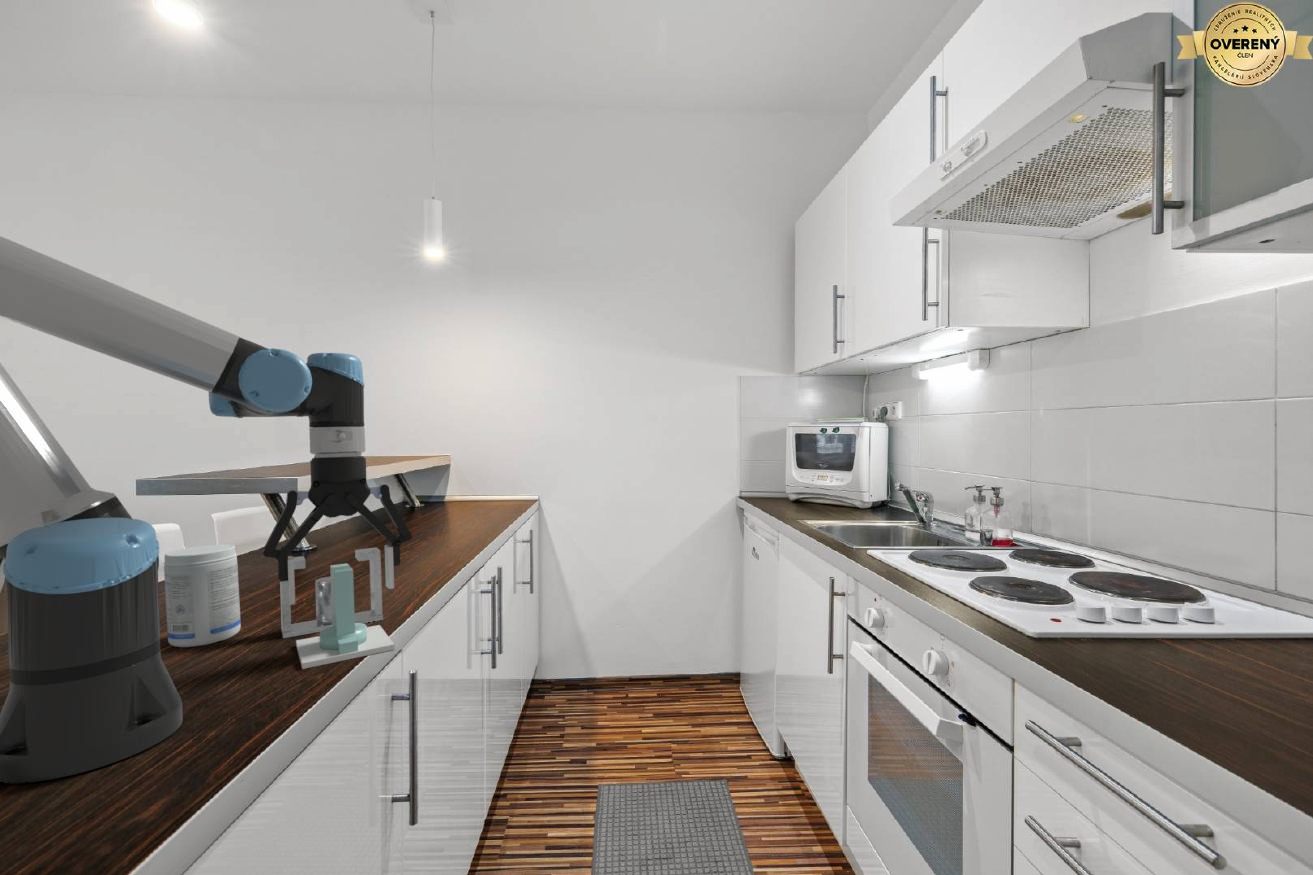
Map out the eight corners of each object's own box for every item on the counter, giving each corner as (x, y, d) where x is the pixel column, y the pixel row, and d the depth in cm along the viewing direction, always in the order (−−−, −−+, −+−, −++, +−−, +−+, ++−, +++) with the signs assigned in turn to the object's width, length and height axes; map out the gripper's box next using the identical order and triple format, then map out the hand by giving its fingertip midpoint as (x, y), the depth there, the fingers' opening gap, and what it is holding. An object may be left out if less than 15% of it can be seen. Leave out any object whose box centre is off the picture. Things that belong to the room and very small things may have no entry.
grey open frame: (283, 638, 97) (280, 563, 97) (281, 630, 101) (279, 558, 101) (383, 619, 106) (380, 550, 105) (377, 613, 110) (375, 546, 110)
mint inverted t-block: (316, 637, 94) (314, 564, 94) (361, 629, 98) (358, 559, 98) (324, 657, 85) (321, 577, 85) (372, 647, 89) (370, 570, 89)
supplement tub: (238, 625, 105) (235, 541, 105) (243, 638, 97) (240, 548, 97) (166, 638, 99) (163, 549, 99) (166, 654, 91) (163, 557, 91)
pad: (302, 669, 83) (302, 663, 83) (296, 645, 93) (296, 640, 93) (394, 649, 90) (394, 644, 90) (379, 629, 100) (379, 624, 100)
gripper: (239, 459, 82) (244, 615, 82) (428, 452, 96) (432, 585, 96) (239, 458, 88) (244, 603, 88) (417, 452, 102) (421, 577, 102)
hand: (342, 594), depth 92 cm, fingers open, 13 cm apart
